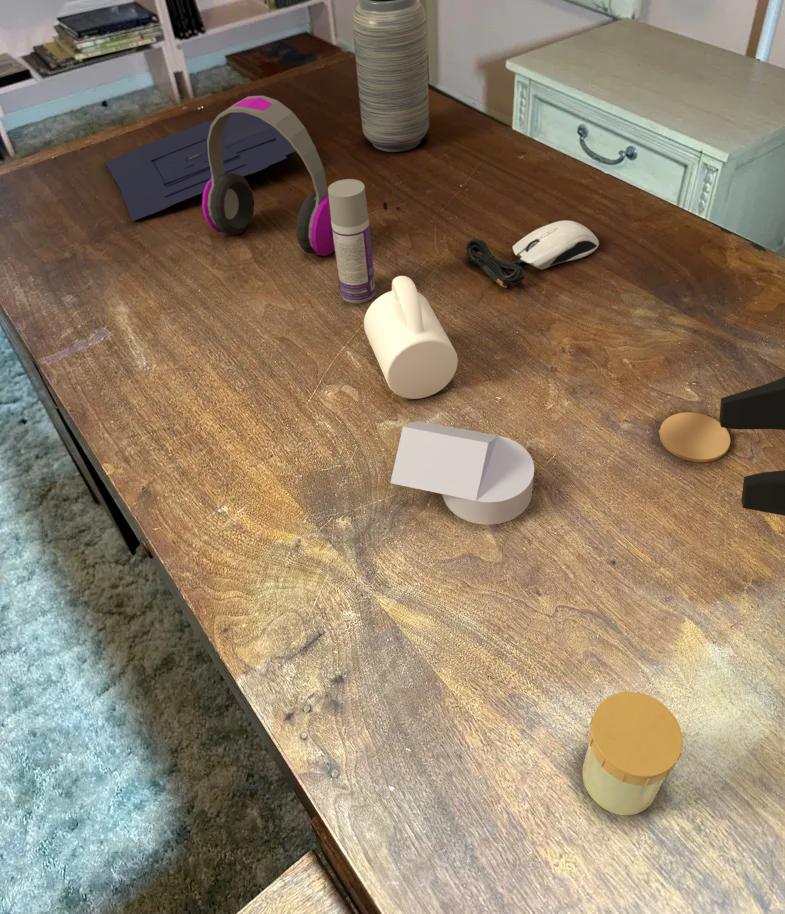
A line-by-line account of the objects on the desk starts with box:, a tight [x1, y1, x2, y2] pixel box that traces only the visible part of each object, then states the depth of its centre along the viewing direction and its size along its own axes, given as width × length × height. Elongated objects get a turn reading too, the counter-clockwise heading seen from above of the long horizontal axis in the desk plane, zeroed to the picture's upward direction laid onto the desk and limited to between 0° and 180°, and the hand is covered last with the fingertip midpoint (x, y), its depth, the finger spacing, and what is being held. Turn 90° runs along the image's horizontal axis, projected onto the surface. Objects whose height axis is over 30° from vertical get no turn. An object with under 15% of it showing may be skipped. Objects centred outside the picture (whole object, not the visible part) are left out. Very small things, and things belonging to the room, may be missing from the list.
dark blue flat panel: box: [104, 112, 297, 222], centre depth 130 cm, size 24×30×4 cm
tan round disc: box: [658, 411, 731, 463], centre depth 80 cm, size 7×7×1 cm
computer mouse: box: [465, 219, 600, 289], centre depth 104 cm, size 10×18×4 cm, turn 118°
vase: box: [351, 0, 430, 153], centre depth 126 cm, size 12×12×23 cm
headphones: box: [201, 95, 335, 257], centre depth 106 cm, size 21×9×20 cm, turn 63°
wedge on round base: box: [389, 420, 535, 526], centre depth 75 cm, size 9×7×13 cm
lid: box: [589, 691, 684, 786], centre depth 52 cm, size 6×6×2 cm
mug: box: [363, 275, 459, 400], centre depth 86 cm, size 8×10×12 cm
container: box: [327, 178, 377, 304], centre depth 97 cm, size 5×5×15 cm
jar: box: [581, 741, 665, 816], centre depth 54 cm, size 5×5×7 cm
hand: (731, 450), depth 48 cm, fingers open, 7 cm apart
